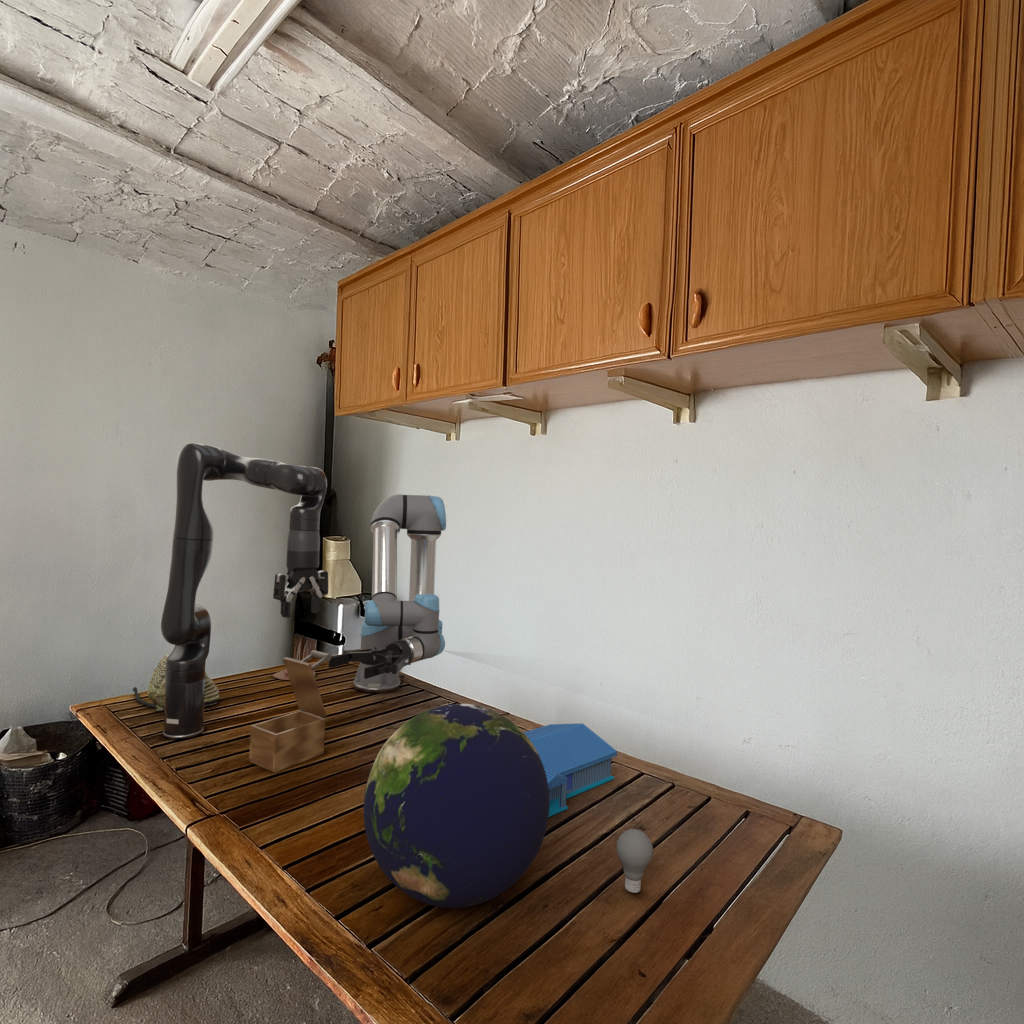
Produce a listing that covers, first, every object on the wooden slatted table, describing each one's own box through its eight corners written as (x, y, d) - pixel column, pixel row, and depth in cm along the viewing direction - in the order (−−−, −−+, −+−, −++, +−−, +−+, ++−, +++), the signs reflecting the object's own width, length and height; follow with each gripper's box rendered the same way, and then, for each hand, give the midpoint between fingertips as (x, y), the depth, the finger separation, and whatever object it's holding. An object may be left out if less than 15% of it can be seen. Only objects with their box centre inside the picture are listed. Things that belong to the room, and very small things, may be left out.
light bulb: (610, 879, 108) (613, 822, 108) (644, 879, 109) (647, 822, 109) (619, 902, 102) (622, 840, 102) (655, 901, 103) (658, 840, 103)
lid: (308, 665, 151) (333, 648, 157) (282, 658, 156) (308, 641, 162) (324, 717, 155) (348, 698, 162) (299, 709, 161) (323, 691, 167)
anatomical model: (267, 666, 215) (286, 658, 227) (267, 678, 215) (286, 669, 227) (303, 670, 213) (320, 662, 224) (303, 682, 213) (320, 673, 224)
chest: (274, 772, 144) (275, 735, 144) (249, 761, 149) (250, 725, 149) (324, 753, 156) (325, 718, 156) (299, 743, 161) (300, 710, 161)
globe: (319, 919, 95) (326, 721, 95) (420, 827, 123) (427, 673, 122) (502, 984, 84) (511, 760, 83) (568, 867, 112) (576, 698, 111)
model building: (497, 839, 120) (500, 786, 120) (424, 791, 138) (425, 745, 138) (625, 783, 146) (627, 740, 146) (549, 749, 164) (551, 711, 164)
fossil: (144, 707, 182) (145, 655, 182) (212, 696, 194) (213, 647, 194) (151, 716, 175) (153, 662, 175) (221, 703, 188) (223, 653, 188)
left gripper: (288, 551, 146) (285, 621, 146) (336, 548, 158) (334, 613, 158) (268, 548, 150) (265, 616, 150) (316, 546, 162) (314, 609, 162)
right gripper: (435, 673, 177) (380, 692, 160) (372, 656, 191) (315, 672, 174) (436, 647, 177) (381, 663, 159) (373, 632, 191) (316, 645, 173)
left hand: (300, 615), depth 154 cm, fingers open, 8 cm apart
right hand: (346, 668), depth 166 cm, fingers open, 13 cm apart
